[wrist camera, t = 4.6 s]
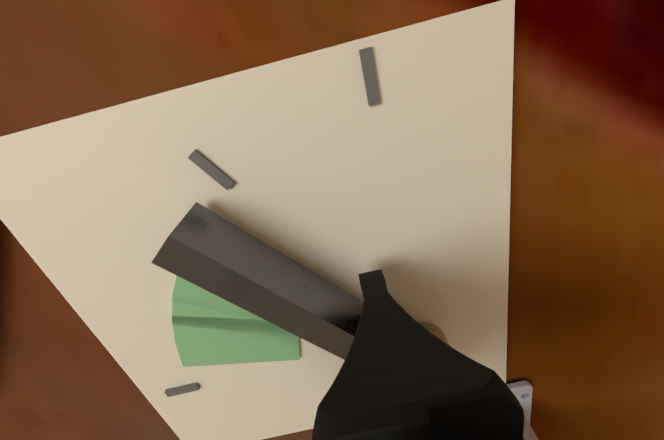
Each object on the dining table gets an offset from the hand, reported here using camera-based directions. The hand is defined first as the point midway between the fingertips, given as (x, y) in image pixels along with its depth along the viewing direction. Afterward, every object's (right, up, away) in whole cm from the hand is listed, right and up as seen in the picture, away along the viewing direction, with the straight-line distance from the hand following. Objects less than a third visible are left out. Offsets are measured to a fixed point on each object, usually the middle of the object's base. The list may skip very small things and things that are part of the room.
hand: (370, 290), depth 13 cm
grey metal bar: (-2, 0, +1) cm, 2 cm away
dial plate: (-3, 0, +3) cm, 4 cm away
